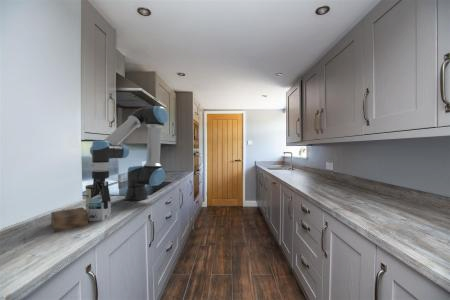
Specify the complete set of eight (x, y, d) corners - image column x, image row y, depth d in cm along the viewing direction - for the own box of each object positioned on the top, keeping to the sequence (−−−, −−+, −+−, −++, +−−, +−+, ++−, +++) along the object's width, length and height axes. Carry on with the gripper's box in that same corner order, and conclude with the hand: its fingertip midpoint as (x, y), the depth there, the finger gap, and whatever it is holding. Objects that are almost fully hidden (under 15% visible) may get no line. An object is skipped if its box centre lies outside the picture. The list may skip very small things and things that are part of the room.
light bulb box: (102, 221, 100) (103, 199, 100) (87, 221, 99) (88, 199, 99) (111, 214, 111) (111, 194, 111) (97, 214, 110) (97, 194, 110)
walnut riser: (82, 219, 103) (82, 207, 103) (87, 225, 94) (87, 212, 94) (51, 225, 95) (51, 212, 95) (54, 233, 86) (54, 218, 86)
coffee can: (110, 207, 123) (110, 183, 123) (99, 212, 112) (99, 187, 112) (93, 206, 123) (93, 183, 123) (80, 212, 113) (81, 186, 113)
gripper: (84, 169, 110) (84, 208, 110) (101, 173, 94) (100, 219, 94) (100, 168, 116) (99, 206, 116) (118, 172, 100) (117, 215, 100)
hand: (100, 212), depth 105 cm, fingers open, 12 cm apart
